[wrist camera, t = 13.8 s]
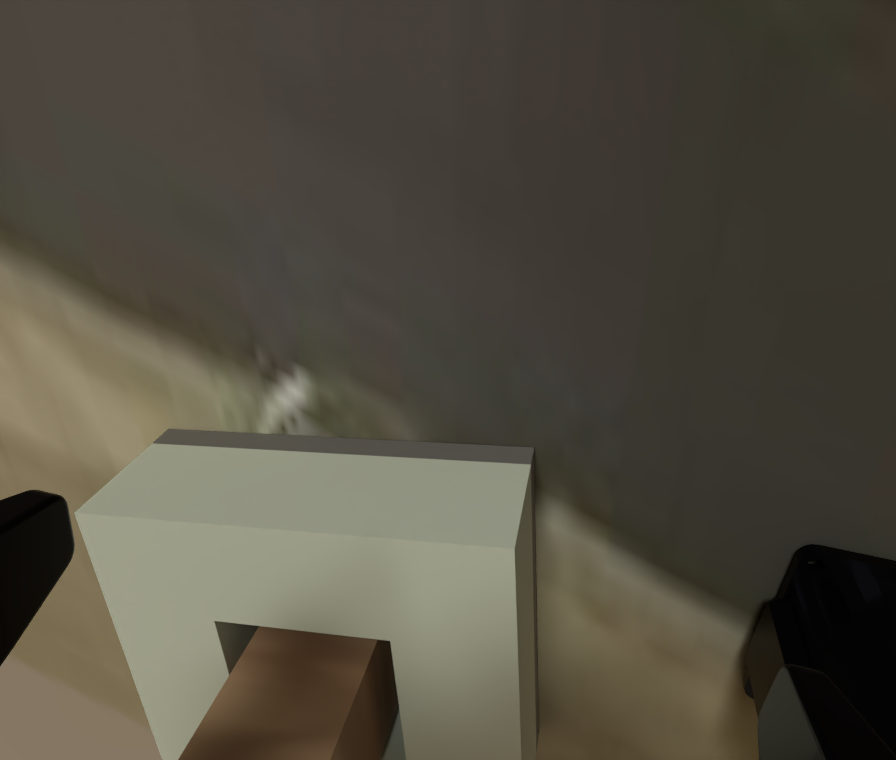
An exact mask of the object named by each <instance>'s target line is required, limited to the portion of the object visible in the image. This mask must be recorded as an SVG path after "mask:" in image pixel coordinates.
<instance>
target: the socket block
mask: <svg viewBox="0 0 896 760" xmlns="http://www.w3.org/2000/svg"><path fill="white" fill-rule="evenodd" d="M74 514H75V516H76V519H77V522H78V525H79V528H80V530H81V533H82V536H83V539H84V542H85V544H86V547H87V550H88V553H89V556H90V558H91V561H92V564H93V567H94V570H95V572H96V575H97V578H98V581H99V584H100V586H101V589H102V592H103V595H104V598H105V601H106V603H107V606H108V609H109V612H110V615H111V617H112V620H113V623H114V626H115V629H116V631H117V634H118V637H119V640H120V643H121V645H122V648H123V651H124V654H125V657H126V659H127V662H128V665H129V668H130V671H131V673H132V676H133V679H134V682H135V685H136V687H137V690H138V693H139V696H140V699H141V701H142V704H143V707H144V710H145V713H146V715H147V718H148V721H149V724H150V727H151V729H152V732H153V735H154V738H155V741H156V743H157V746H158V749H159V752H160V755H161V758H162V760H178V759H179V757H180V756H181V754H182V752H183V751H184V749H185V748H186V746H187V744H188V743H189V741H190V739H191V738H192V736H193V734H194V733H195V731H196V729H197V728H198V726H199V724H200V723H201V721H202V719H203V718H204V716H205V715H206V713H207V711H208V710H209V708H210V706H211V705H212V703H213V701H214V700H215V698H216V696H217V695H218V693H219V691H220V690H221V688H222V686H223V685H224V683H225V682H226V680H227V678H228V677H229V675H230V673H231V672H232V670H233V668H234V667H235V665H236V663H237V662H238V660H239V658H240V657H241V655H242V653H243V652H244V650H245V649H246V647H247V645H248V644H249V642H250V640H251V639H252V637H253V635H254V634H255V632H256V630H257V629H258V627H259V626H263V627H272V628H281V629H289V630H298V631H307V632H316V633H324V634H333V635H342V636H351V637H360V638H368V639H377V640H386V641H390V644H391V651H392V659H393V666H394V673H395V681H396V688H397V695H398V705H397V708H396V711H395V715H394V718H393V721H392V724H391V727H390V730H389V733H388V736H387V739H386V742H385V745H384V748H383V751H382V754H381V758H380V760H536V752H537V743H538V734H539V708H538V648H537V589H536V529H535V469H534V448H532V447H513V446H493V445H473V444H453V443H434V442H414V441H394V440H374V439H355V438H335V437H315V436H295V435H275V434H256V433H236V432H216V431H196V430H177V429H168V430H167V431H166V432H164V433H163V434H162V435H161V436H160V437H159V438H158V439H157V440H155V441H154V442H153V443H152V444H151V445H150V446H149V447H148V448H147V449H145V450H144V451H143V452H142V453H141V454H140V455H139V456H138V457H136V458H135V459H134V460H133V461H132V462H131V463H130V464H129V465H127V466H126V467H125V468H124V469H123V470H122V471H121V472H120V473H118V474H117V475H116V476H115V477H114V478H113V479H112V480H111V481H110V482H108V483H107V484H106V485H105V486H104V487H103V488H102V489H101V490H99V491H98V492H97V493H96V494H95V495H94V496H93V497H92V498H90V499H89V500H88V501H87V502H86V503H85V504H84V505H83V506H82V507H80V508H79V509H78V510H77V511H76V512H75V513H74Z"/></svg>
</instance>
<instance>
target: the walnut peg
mask: <svg viewBox="0 0 896 760" xmlns="http://www.w3.org/2000/svg"><path fill="white" fill-rule="evenodd" d="M397 705H398V695H397V688H396V681H395V673H394V666H393V659H392V651H391V644H390V641H386V640H377V639H368V638H360V637H351V636H342V635H333V634H324V633H316V632H307V631H298V630H289V629H281V628H272V627H263V626H259V627H258V629H257V630H256V632H255V634H254V635H253V637H252V639H251V640H250V642H249V644H248V645H247V647H246V649H245V650H244V652H243V653H242V655H241V657H240V658H239V660H238V662H237V663H236V665H235V667H234V668H233V670H232V672H231V673H230V675H229V677H228V678H227V680H226V682H225V683H224V685H223V686H222V688H221V690H220V691H219V693H218V695H217V696H216V698H215V700H214V701H213V703H212V705H211V706H210V708H209V710H208V711H207V713H206V715H205V716H204V718H203V719H202V721H201V723H200V724H199V726H198V728H197V729H196V731H195V733H194V734H193V736H192V738H191V739H190V741H189V743H188V744H187V746H186V748H185V749H184V751H183V752H182V754H181V756H180V757H179V759H178V760H380V758H381V754H382V751H383V748H384V745H385V742H386V739H387V736H388V733H389V730H390V727H391V724H392V721H393V718H394V715H395V711H396V708H397Z"/></svg>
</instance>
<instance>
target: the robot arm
mask: <svg viewBox="0 0 896 760" xmlns="http://www.w3.org/2000/svg"><path fill="white" fill-rule="evenodd" d="M74 546H75V544H74V537H73V531H72V526H71V520H70V515H69V509H68V505H67V502H66V500H65V499H64V498H63V497H62V496H60V495H57V494H53V493H49V492H44V491H40V490H29V491H25V492H23V493H20V494H17V495H14V496H11V497H8V498H5V499H3V500H0V666H1V664H2V663H3V662H4V660H5V659H6V657H7V656H8V654H9V653H10V652H11V650H12V649H13V647H14V646H15V644H16V643H17V641H18V640H19V638H20V637H21V635H22V634H23V632H24V631H25V629H26V628H27V626H28V625H29V623H30V622H31V620H32V619H33V617H34V616H35V614H36V613H37V611H38V610H39V608H40V607H41V605H42V604H43V602H44V601H45V599H46V598H47V596H48V595H49V593H50V592H51V590H52V589H53V587H54V586H55V584H56V583H57V581H58V580H59V578H60V577H61V575H62V574H63V572H64V571H65V569H66V568H67V566H68V565H69V563H70V561H71V559H72V556H73V553H74ZM813 559H819V560H820V561H819V562H818V563H815V564H809V563H808V562H809V561H811V560H813ZM745 657H746V662H747V668H746V670H745V673H744V675H743V680H742V681H743V686H744V690H745V692H746V694H747V695H748V696H749V697H751V698H753V699H754V700H755V705H756V710H757V715H758V748H759V760H896V561H893V560H889V559H884V558H879V557H874V556H869V555H865V554H860V553H855V552H850V551H845V550H841V549H836V548H831V547H826V546H822V545H814V544H810V545H806V546H803V547H802V548H800V549H799V550H798V551H797V552H796V554H795V556H794V558H793V561H792V563H791V565H790V568H789V570H788V572H787V575H786V577H785V579H784V582H783V584H782V586H781V589H780V591H779V593H778V596H777V598H773V599H771V600H770V601H769V602H767V604H766V606H765V609H764V611H763V613H762V616H761V618H760V621H759V623H758V625H757V628H756V630H755V632H754V635H753V637H752V640H751V642H750V644H749V647H748V649H747V651H746V654H745Z"/></svg>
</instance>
